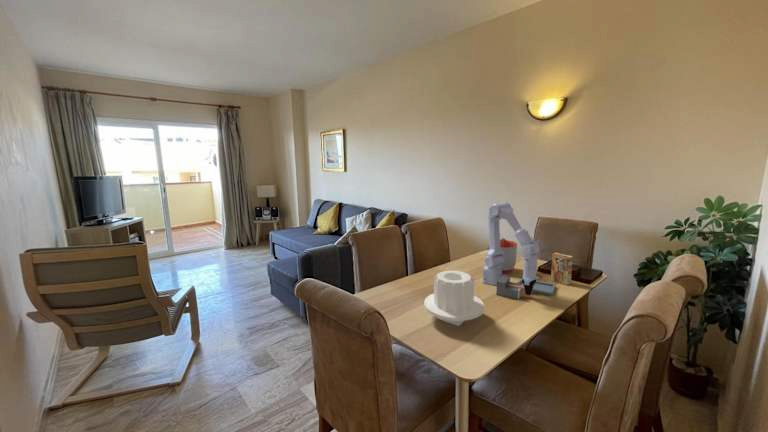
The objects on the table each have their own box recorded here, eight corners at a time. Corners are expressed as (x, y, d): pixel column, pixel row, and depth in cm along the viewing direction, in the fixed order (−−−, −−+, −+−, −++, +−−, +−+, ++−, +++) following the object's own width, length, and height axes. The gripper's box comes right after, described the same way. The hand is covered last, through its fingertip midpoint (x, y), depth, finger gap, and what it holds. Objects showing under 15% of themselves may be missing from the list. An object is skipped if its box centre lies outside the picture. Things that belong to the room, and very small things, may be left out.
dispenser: (496, 294, 156) (496, 281, 155) (501, 287, 164) (502, 274, 163) (518, 299, 150) (519, 285, 149) (522, 291, 158) (523, 278, 157)
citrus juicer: (490, 263, 200) (491, 233, 196) (519, 268, 190) (520, 236, 186) (482, 271, 188) (482, 239, 184) (512, 277, 178) (513, 243, 174)
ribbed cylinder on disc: (441, 299, 152) (442, 262, 149) (492, 314, 137) (494, 273, 133) (413, 321, 133) (412, 279, 130) (468, 341, 118) (469, 294, 114)
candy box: (571, 283, 166) (573, 256, 163) (566, 285, 164) (569, 257, 161) (554, 278, 173) (556, 252, 171) (550, 280, 171) (552, 253, 168)
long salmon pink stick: (507, 293, 157) (508, 284, 156) (508, 292, 158) (508, 284, 157) (531, 298, 151) (532, 289, 150) (532, 297, 152) (532, 288, 151)
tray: (515, 289, 162) (515, 286, 161) (520, 280, 172) (520, 278, 172) (552, 296, 152) (552, 293, 152) (555, 286, 163) (555, 284, 162)
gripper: (536, 273, 141) (535, 301, 144) (541, 264, 153) (540, 290, 155) (520, 270, 145) (518, 298, 148) (526, 261, 157) (524, 287, 159)
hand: (528, 293), depth 152 cm, fingers closed on long salmon pink stick, 1 cm apart
